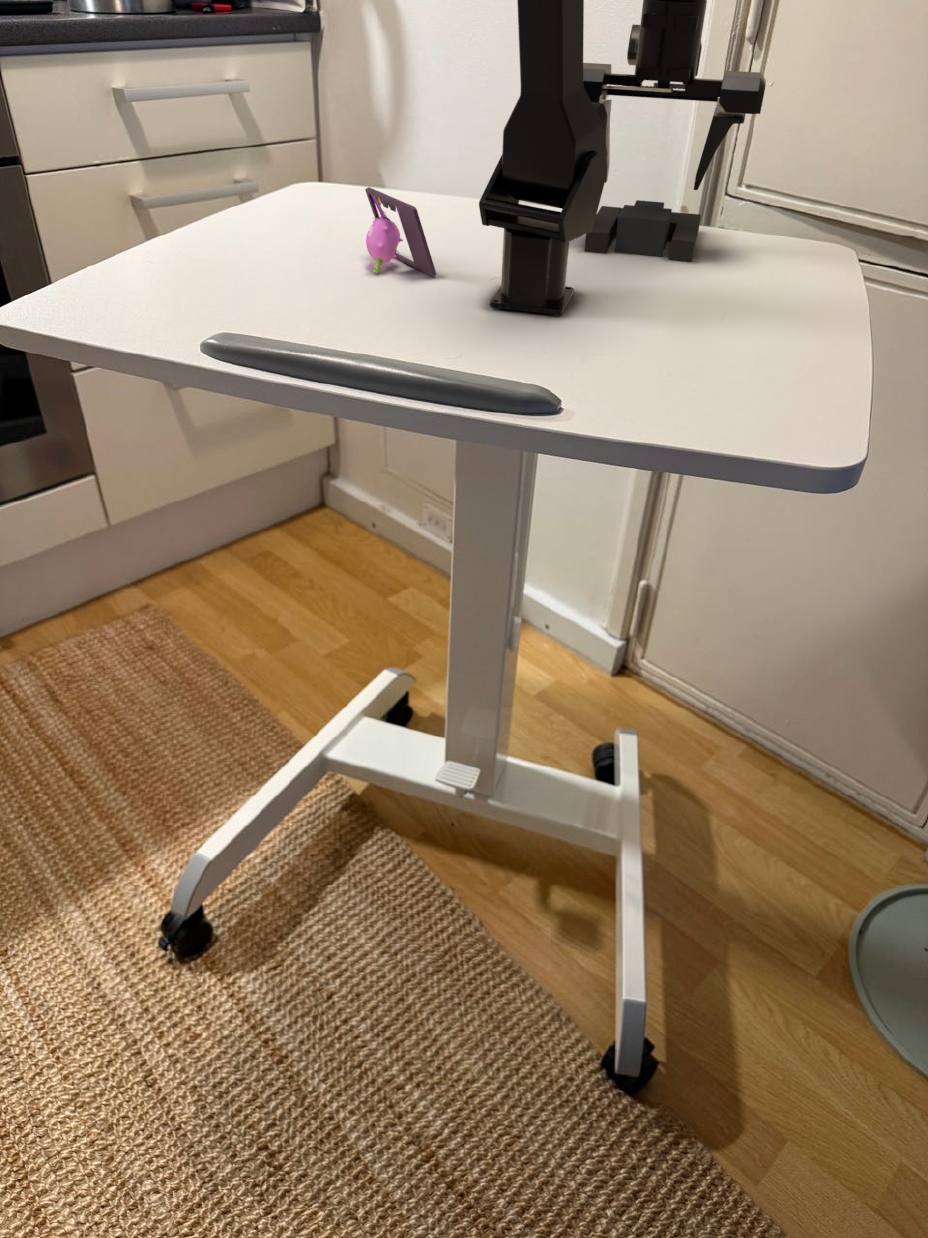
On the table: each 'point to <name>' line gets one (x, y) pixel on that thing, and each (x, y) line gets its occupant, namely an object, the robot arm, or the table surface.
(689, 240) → the base pad
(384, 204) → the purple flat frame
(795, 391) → the table surface
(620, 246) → the pad piece
